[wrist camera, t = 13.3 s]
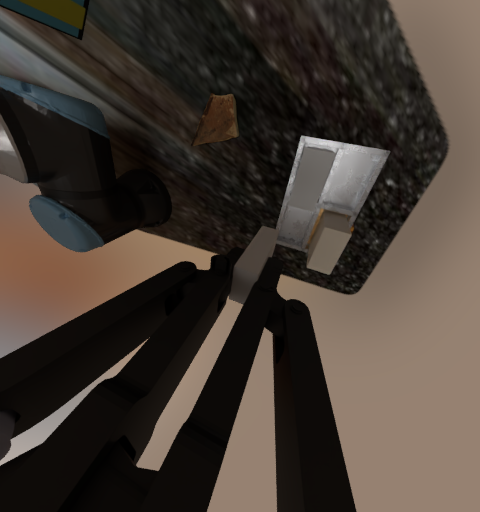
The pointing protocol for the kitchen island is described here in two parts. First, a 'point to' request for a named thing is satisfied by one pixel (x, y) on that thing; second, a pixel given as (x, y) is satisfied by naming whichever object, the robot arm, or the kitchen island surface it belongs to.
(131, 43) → the kitchen island surface
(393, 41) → the kitchen island surface
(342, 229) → the grey beige block
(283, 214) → the grey divided tray
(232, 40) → the kitchen island surface
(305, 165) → the grey rectangular block
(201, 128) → the shard
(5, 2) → the carton
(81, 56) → the kitchen island surface
